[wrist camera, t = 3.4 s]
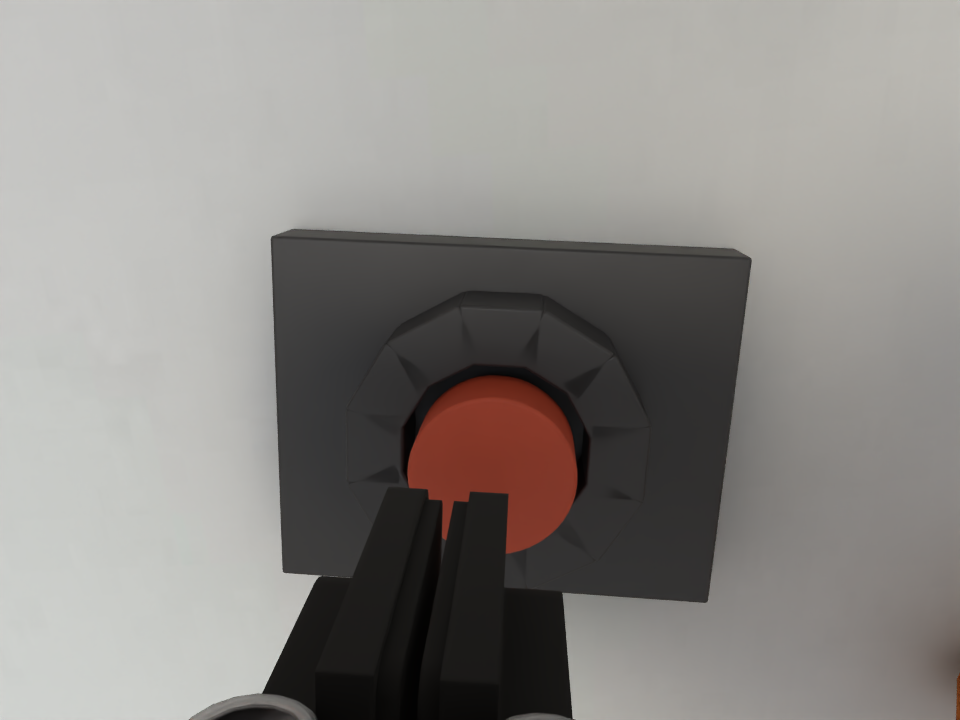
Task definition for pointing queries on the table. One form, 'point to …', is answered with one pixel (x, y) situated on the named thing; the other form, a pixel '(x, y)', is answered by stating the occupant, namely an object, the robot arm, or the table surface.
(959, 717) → the carrot
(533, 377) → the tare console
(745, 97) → the table surface
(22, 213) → the table surface
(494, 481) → the button
